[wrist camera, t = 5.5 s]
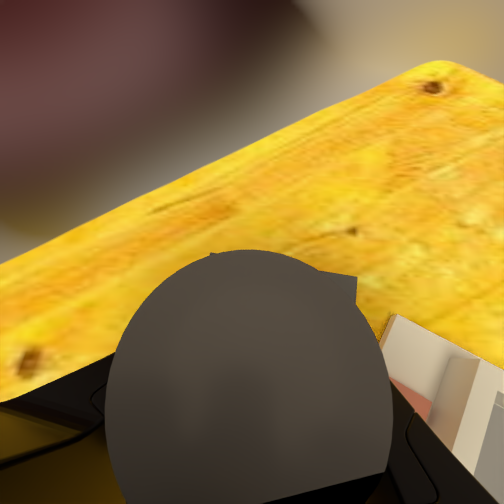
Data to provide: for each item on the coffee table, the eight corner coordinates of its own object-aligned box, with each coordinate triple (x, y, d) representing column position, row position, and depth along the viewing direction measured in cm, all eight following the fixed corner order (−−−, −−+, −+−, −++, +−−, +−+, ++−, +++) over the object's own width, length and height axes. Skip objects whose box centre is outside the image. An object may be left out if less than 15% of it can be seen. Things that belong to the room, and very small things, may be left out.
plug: (297, 410, 13) (469, 930, 1) (234, 394, 14) (-52, 655, 2) (308, 325, 15) (435, 200, 3) (251, 313, 15) (154, 168, 3)
